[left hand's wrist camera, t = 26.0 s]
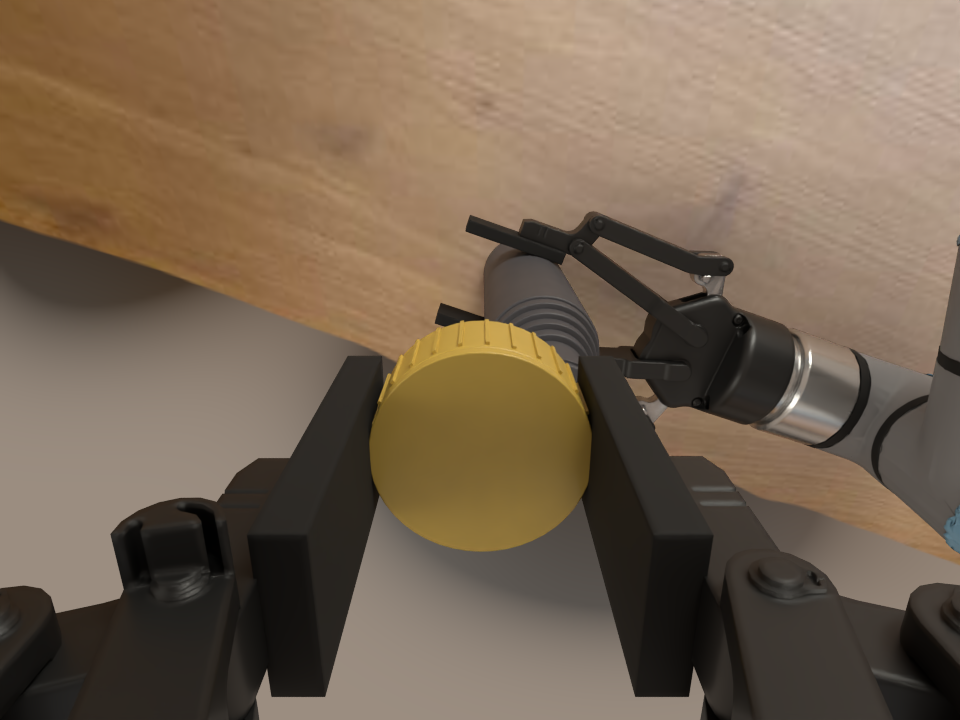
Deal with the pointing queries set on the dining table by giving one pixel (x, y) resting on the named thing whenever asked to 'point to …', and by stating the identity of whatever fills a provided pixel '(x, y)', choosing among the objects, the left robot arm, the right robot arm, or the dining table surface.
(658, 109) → the dining table surface
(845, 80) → the dining table surface
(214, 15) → the dining table surface
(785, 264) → the dining table surface
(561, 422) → the cap
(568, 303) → the bottle
